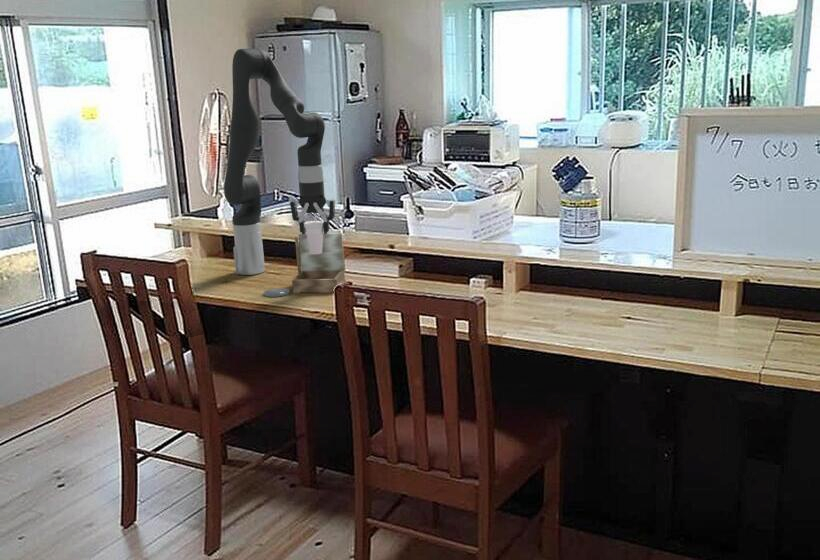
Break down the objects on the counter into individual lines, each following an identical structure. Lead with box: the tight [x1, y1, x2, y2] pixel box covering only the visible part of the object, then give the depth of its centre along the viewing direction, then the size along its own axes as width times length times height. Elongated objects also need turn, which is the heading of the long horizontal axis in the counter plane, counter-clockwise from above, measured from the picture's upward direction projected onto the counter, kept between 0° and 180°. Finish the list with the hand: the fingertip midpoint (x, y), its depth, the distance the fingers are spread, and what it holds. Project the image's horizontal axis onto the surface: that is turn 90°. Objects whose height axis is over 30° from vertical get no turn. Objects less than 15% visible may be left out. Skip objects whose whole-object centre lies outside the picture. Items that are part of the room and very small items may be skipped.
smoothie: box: [304, 213, 324, 254], centre depth 251 cm, size 6×6×14 cm
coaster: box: [263, 287, 291, 298], centre depth 251 cm, size 8×8×1 cm
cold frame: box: [291, 232, 346, 294], centre depth 254 cm, size 15×13×16 cm
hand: (314, 233), depth 251 cm, fingers closed on smoothie, 6 cm apart
